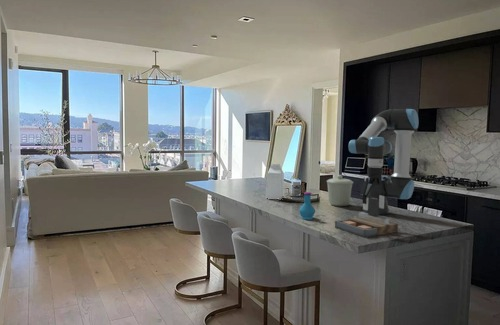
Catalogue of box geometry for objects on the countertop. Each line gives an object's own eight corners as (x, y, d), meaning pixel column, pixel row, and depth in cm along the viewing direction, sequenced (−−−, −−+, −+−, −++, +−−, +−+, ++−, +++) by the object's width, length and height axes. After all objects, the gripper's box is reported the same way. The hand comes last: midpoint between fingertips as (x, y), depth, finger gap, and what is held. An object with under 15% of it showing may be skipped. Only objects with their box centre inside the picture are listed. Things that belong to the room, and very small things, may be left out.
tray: (346, 226, 203) (346, 219, 203) (376, 235, 185) (377, 228, 185) (335, 227, 199) (335, 221, 199) (364, 237, 181) (365, 230, 181)
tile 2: (364, 230, 191) (364, 225, 191) (371, 232, 187) (371, 227, 187) (356, 231, 189) (356, 226, 189) (364, 233, 184) (364, 228, 184)
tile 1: (349, 225, 200) (349, 220, 200) (356, 227, 196) (356, 222, 196) (342, 226, 198) (342, 221, 198) (348, 228, 194) (349, 223, 193)
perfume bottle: (313, 216, 226) (314, 191, 224) (316, 219, 216) (317, 193, 215) (297, 216, 225) (298, 191, 224) (300, 219, 216) (301, 193, 215)
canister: (346, 208, 250) (347, 177, 248) (321, 205, 261) (322, 174, 259) (356, 204, 264) (357, 174, 263) (332, 201, 275) (333, 172, 274)
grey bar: (362, 217, 206) (363, 195, 205) (388, 224, 191) (389, 201, 190) (358, 217, 205) (359, 196, 204) (384, 225, 189) (385, 201, 188)
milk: (265, 199, 281) (265, 164, 279) (269, 196, 292) (269, 163, 290) (281, 200, 277) (281, 164, 275) (284, 197, 288) (285, 163, 286)
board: (368, 223, 210) (368, 216, 210) (397, 231, 193) (398, 224, 192) (347, 226, 203) (347, 218, 203) (376, 235, 185) (376, 227, 185)
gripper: (364, 168, 187) (362, 212, 188) (396, 166, 198) (394, 208, 199) (353, 166, 193) (351, 209, 195) (385, 165, 204) (383, 205, 206)
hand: (373, 209), depth 197 cm, fingers open, 11 cm apart
